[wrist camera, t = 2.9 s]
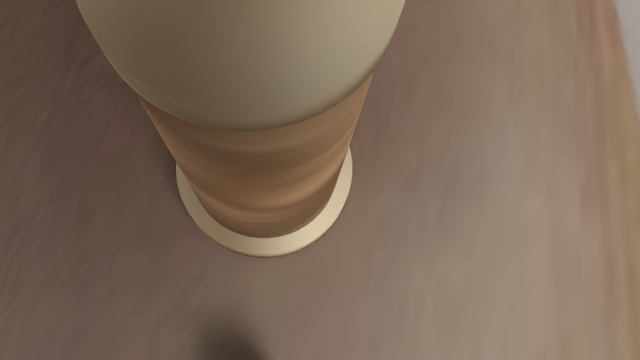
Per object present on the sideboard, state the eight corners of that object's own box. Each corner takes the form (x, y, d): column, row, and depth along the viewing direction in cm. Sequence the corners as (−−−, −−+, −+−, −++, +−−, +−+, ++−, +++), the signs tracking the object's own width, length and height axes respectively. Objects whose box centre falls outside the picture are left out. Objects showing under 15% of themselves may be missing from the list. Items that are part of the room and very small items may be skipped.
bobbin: (352, 101, 23) (438, -193, 10) (345, 262, 21) (436, 149, 9) (190, 89, 23) (74, -227, 10) (171, 251, 21) (6, 119, 8)
